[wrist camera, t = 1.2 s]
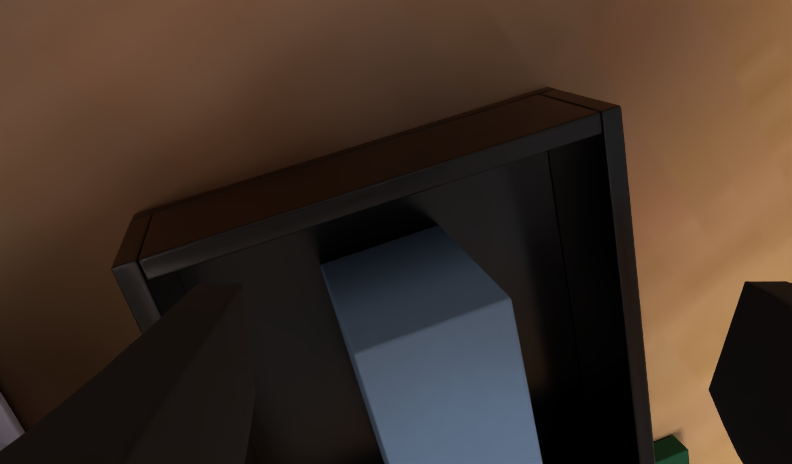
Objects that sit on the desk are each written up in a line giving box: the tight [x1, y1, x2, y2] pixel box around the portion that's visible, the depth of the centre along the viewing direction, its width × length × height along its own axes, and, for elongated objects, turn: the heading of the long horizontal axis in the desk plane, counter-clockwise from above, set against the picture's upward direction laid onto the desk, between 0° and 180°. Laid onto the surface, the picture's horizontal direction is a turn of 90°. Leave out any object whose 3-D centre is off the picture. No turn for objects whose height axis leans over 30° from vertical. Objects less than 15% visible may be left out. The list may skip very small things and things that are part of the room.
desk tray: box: [111, 87, 655, 464], centre depth 20 cm, size 13×14×4 cm
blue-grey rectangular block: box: [321, 226, 543, 464], centre depth 19 cm, size 4×8×6 cm, turn 14°
